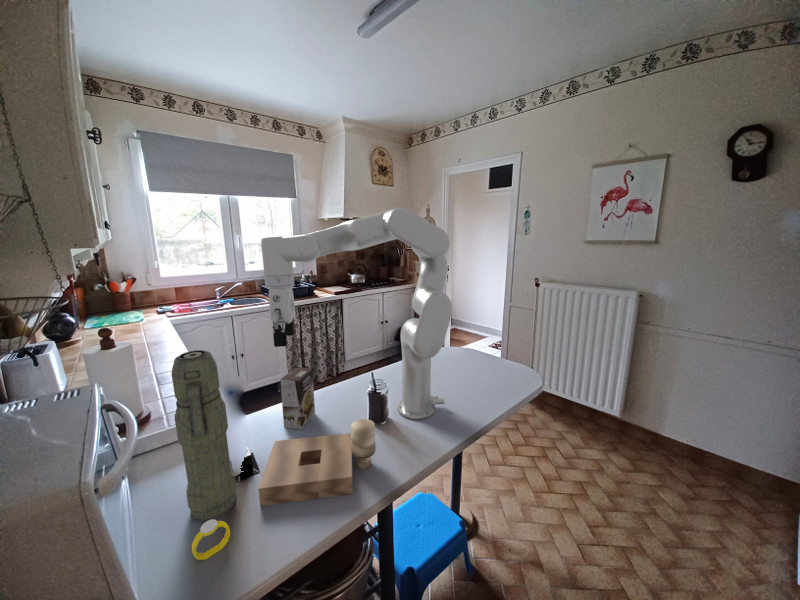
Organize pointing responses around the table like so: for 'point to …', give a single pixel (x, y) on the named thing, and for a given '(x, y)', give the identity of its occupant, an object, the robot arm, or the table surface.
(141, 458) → the table surface
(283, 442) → the board
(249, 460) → the black angular piece
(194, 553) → the watch
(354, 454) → the peg
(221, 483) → the thermos
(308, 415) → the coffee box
